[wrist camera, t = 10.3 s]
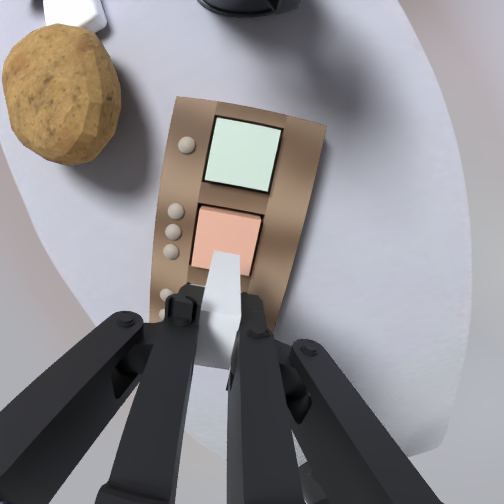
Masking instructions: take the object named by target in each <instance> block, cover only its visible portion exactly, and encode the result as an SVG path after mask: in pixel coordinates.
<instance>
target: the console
mask: <svg viewBox="0 0 504 504" xmlns="http://www.w3.org/2000/svg"><path fill="white" fill-rule="evenodd" d="M217 118H222V119H227V120H233V121H239V122H244V123H249V124H254V125H259V126H264V127H268V128H273V129H277V130H281V133H280V137H279V142H278V146H277V151H276V155H275V160H274V165H273V169H272V174H271V178H270V183H269V187H268V191H263V190H258V189H253V188H248V187H242V186H237V185H232V184H226V183H221V182H215V181H209V180H205V176H206V170H207V165H208V160H209V154H210V149H211V144H212V139H213V135H214V130H215V125H216V120H217ZM326 127H327V126H324V125H321V124H318V123H314V122H311V121H307V120H303V119H300V118H296V117H292V116H288V115H284V114H280V113H275V112H271V111H267V110H262V109H257V108H252V107H247V106H242V105H236V104H230V103H224V102H218V101H211V100H204V99H196V98H188V97H178V96H177V97H176V101H175V106H174V110H173V115H172V119H171V124H170V129H169V134H168V140H167V145H166V151H165V156H164V162H163V168H162V175H161V182H160V189H159V196H158V204H157V212H156V221H155V231H154V242H153V254H152V269H151V287H150V321H149V323H157V322H161V321H163V320H164V316H165V300H166V298H167V297H168V296H169V295H172V294H176V293H178V292H179V289H180V288H181V287H182V286H184V285H185V284H189V282H190V283H195V284H201V285H206V282H207V278H208V274H209V269H205V268H200V267H194V266H191V265H192V257H193V250H194V243H195V236H196V229H197V223H198V217H199V210H200V205H201V203H205V204H210V205H216V206H222V207H227V208H233V209H238V210H244V211H249V212H254V213H259V214H261V216H260V218H261V223H260V228H259V232H258V237H257V241H256V246H255V250H254V255H253V259H252V264H251V268H250V273H249V276H246V275H240V291H242V292H244V293H247V294H253V295H258V296H259V297H260V298H261V300H262V301H263V305H264V311H265V312H264V313H265V317H266V323H267V328H269V329H270V330H271V331H272V333H273V330H274V327H275V324H276V320H277V317H278V314H279V310H280V307H281V304H282V300H283V297H284V293H285V290H286V286H287V283H288V279H289V276H290V272H291V269H292V265H293V262H294V258H295V254H296V251H297V247H298V243H299V240H300V236H301V232H302V228H303V224H304V220H305V217H306V213H307V209H308V205H309V201H310V197H311V193H312V189H313V184H314V180H315V176H316V172H317V168H318V163H319V159H320V155H321V150H322V146H323V141H324V137H325V132H326Z"/></svg>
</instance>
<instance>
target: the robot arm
mask: <svg viewBox="0 0 504 504" xmlns="http://www.w3.org/2000/svg"><path fill="white" fill-rule="evenodd" d="M264 312H265V311H264V305H263V301H262V300H261V298H260V297H259V296H258V295H253V294H247V293H241V291H240V255H237V254H231V253H226V252H220V251H214V253H213V257H212V261H211V265H210V269H209V274H208V278H207V282H206V287H201V286H196V285H190V284H185V285H184V286H182V287H181V288H180V289H179V292H178V293H176V294H172V295H169V296H168V297H167V298H166V300H165V316H164V320H163V321H161V322H157V323H143V319H142V317H141V316H140V315H138V314H137V313H134V312H131V311H120V312H116V313H114V314H112V315H111V316H110V317H108V318H107V319H106V320H105V321H103V322H102V323H101V324H100V325H99V326H97V327H96V328H95V329H94V330H92V332H90V333H89V334H88V335H86V336H85V337H84V338H83V339H82V340H80V341H79V342H78V343H77V344H76V345H75V346H73V347H72V348H71V349H70V350H69V351H68V352H66V353H65V354H64V355H63V356H62V357H61V358H59V359H58V360H57V361H56V362H55V363H54V364H52V365H51V366H50V367H49V368H48V369H47V370H45V371H44V372H43V373H42V374H41V375H40V376H39V377H38V378H36V379H35V380H34V381H33V382H32V383H31V384H30V385H29V386H28V387H26V388H25V389H24V390H23V391H22V392H21V393H20V394H19V395H18V396H17V397H16V398H14V399H13V400H12V401H11V402H10V403H9V404H8V405H7V406H6V407H5V408H4V409H3V410H2V411H1V412H0V504H49V502H50V501H51V499H52V498H53V497H54V495H55V494H56V493H57V491H58V490H59V488H60V487H61V486H62V484H63V483H64V482H65V480H66V479H67V478H68V476H69V475H70V474H71V472H72V471H73V470H74V468H75V467H76V465H77V464H78V463H79V461H80V460H81V459H82V457H83V456H84V455H85V453H86V452H87V451H88V449H89V448H90V447H91V445H92V444H93V443H94V441H95V440H96V438H97V437H98V436H99V435H100V433H101V432H102V431H103V429H104V428H105V427H106V425H107V424H108V423H109V421H110V420H111V419H112V418H113V416H114V415H115V414H116V412H117V411H118V409H119V408H120V407H121V406H122V404H123V403H124V402H125V400H126V399H127V398H128V396H129V395H130V394H131V392H132V391H133V390H134V389H135V387H136V386H137V385H138V383H139V382H140V383H139V386H138V389H137V392H136V395H135V398H134V401H133V403H132V406H131V410H130V413H129V415H128V418H127V421H126V424H125V428H124V431H123V434H122V437H121V440H120V444H119V447H118V450H117V454H116V457H115V460H114V464H113V467H112V471H111V475H110V478H109V481H108V482H107V483H106V484H104V485H102V487H101V488H100V490H99V492H98V494H97V497H96V501H95V504H175V497H176V488H177V478H178V471H179V463H180V455H181V447H182V440H183V433H184V426H185V419H186V413H187V406H188V400H189V393H190V387H191V381H192V375H193V367H194V364H195V365H201V366H207V367H214V368H220V369H227V370H229V369H230V364H231V370H230V374H229V378H228V383H227V387H226V390H227V391H228V421H227V504H306V503H305V501H306V502H307V504H444V503H442V502H441V501H440V500H439V499H438V497H437V496H436V495H435V493H434V492H433V491H432V489H431V488H430V487H429V486H428V484H427V483H426V482H425V480H424V479H423V478H422V476H421V475H420V474H419V472H418V471H417V470H416V468H415V467H414V466H413V464H412V463H411V462H410V460H409V459H408V458H407V457H406V455H405V454H404V453H403V451H402V450H401V449H400V447H399V446H398V445H397V443H396V442H395V441H394V439H393V438H392V437H391V435H390V434H389V433H388V432H387V430H386V429H385V428H384V426H383V425H382V424H381V422H380V421H379V420H378V418H377V417H376V416H375V414H374V413H373V412H372V410H371V409H370V408H369V407H368V405H367V404H366V403H365V401H364V400H363V399H362V397H361V396H360V395H359V393H358V392H357V391H356V389H355V388H354V387H353V385H352V384H351V383H350V381H349V380H348V379H347V378H346V376H345V375H344V374H343V372H342V371H341V370H340V368H339V367H338V366H337V364H336V363H335V362H334V360H333V359H332V358H331V356H330V355H329V354H328V353H327V351H326V350H325V349H324V347H323V346H321V345H320V344H319V343H317V342H315V341H313V340H309V339H300V340H297V341H295V342H294V344H293V346H290V345H287V344H284V343H281V342H279V341H277V340H275V339H274V335H273V333H272V331H271V330H270V329H269V328H267V323H266V317H265V313H264ZM291 429H292V431H293V433H294V435H295V437H296V439H297V441H298V443H299V445H300V447H301V449H302V451H303V453H304V455H305V457H306V459H307V461H308V462H307V463H305V464H303V465H302V466H300V467H299V468H298V464H297V458H296V453H295V447H294V442H293V436H292V431H291ZM304 499H305V501H304Z"/></svg>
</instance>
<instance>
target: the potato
mask: <svg viewBox="0 0 504 504" xmlns="http://www.w3.org/2000/svg"><path fill="white" fill-rule="evenodd" d="M2 83H3V89H4V95H5V99H6V104H7V108H8V113H9V119H10V123H11V128H12V130H13V132H14V133H15V135H16V136H17V138H18V139H19V141H20V142H21V143H22V144H23V145H24V146H26V147H27V148H29V149H30V150H32V151H33V152H35V153H36V154H38V155H40V156H41V157H43V158H44V159H46V160H48V161H52V162H55V163H59V164H63V165H71V166H72V165H77V164H82V163H88V162H91V161H92V160H93V159H94V158H95V157H97V156H98V155H99V154H100V153H101V151H102V150H103V149H104V147H105V146H106V145H107V143H108V142H109V141H110V140H111V138H112V137H113V136H114V135H115V131H116V127H117V123H118V118H119V114H120V110H121V86H120V82H119V79H118V76H117V73H116V70H115V67H114V65H113V63H112V61H111V59H110V56H109V54H108V53H107V51H106V49H105V48H104V46H103V44H102V42H101V41H100V40H99V38H98V37H97V36H96V34H95V33H93V32H91V31H89V30H87V29H85V28H83V27H77V26H70V25H65V24H60V23H56V24H52V25H48V26H45V27H42V28H40V29H37V30H35V31H32V32H31V33H29V34H28V35H27V36H26V37H24V38H23V39H22V40H21V41H20V42H19V43H17V44H16V45H15V46H14V47H13V48H12V50H11V51H10V53H9V55H8V56H7V58H6V60H5V61H4V67H3V73H2Z"/></svg>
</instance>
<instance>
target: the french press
mask: <svg viewBox="0 0 504 504" xmlns="http://www.w3.org/2000/svg"><path fill="white" fill-rule="evenodd" d="M198 1H199V2H200V3H201V4H202V5H203V6H205V7H206V8H208V9H209V10H211V11H214V12H216V13H218V14H222V15H226V16H232V17H258V16H264V15H267V14H271V13H275V14H281V13H284V12H287V11H290V10H294V9H296V8H297V7H298V5H299V3H300V1H301V0H198Z"/></svg>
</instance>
